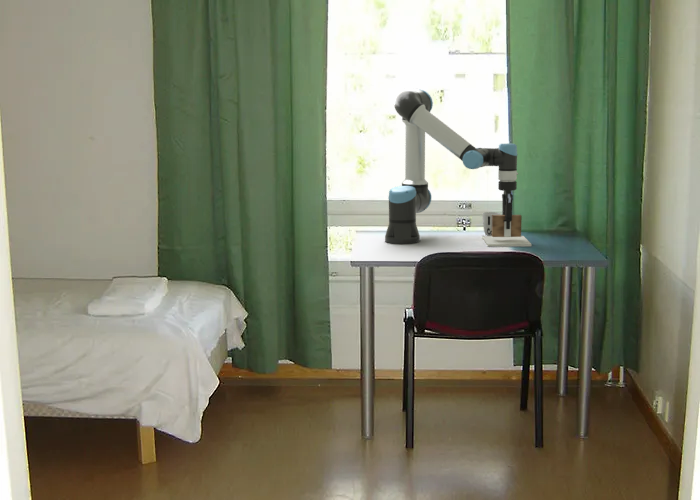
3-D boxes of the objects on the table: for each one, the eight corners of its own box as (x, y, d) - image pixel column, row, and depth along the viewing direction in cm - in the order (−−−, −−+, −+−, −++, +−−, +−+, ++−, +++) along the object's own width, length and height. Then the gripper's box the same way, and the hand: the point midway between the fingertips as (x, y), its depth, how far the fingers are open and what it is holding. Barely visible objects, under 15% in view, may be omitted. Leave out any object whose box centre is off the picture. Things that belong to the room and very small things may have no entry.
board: (492, 236, 362) (492, 215, 360) (491, 235, 365) (492, 214, 363) (521, 236, 361) (521, 215, 360) (519, 235, 364) (520, 214, 363)
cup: (484, 237, 378) (485, 214, 376) (479, 234, 386) (480, 212, 384) (502, 236, 379) (503, 214, 377) (497, 233, 387) (497, 211, 385)
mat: (487, 246, 355) (487, 244, 355) (482, 238, 375) (482, 236, 375) (531, 246, 355) (531, 243, 354) (523, 238, 374) (523, 235, 374)
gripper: (519, 182, 351) (518, 238, 355) (513, 178, 367) (512, 232, 371) (501, 182, 351) (500, 239, 355) (496, 178, 367) (495, 232, 371)
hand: (506, 235), depth 363 cm, fingers closed on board, 3 cm apart
